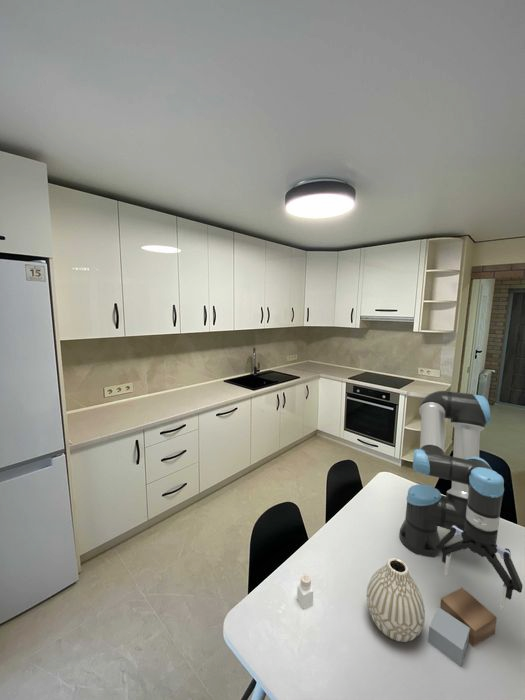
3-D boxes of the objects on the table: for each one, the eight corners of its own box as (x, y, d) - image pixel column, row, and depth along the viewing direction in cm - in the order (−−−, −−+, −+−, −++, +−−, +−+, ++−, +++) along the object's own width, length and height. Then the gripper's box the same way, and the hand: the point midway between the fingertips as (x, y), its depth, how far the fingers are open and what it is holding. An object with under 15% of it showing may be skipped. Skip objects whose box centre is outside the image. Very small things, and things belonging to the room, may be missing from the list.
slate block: (427, 644, 83) (429, 626, 82) (436, 624, 88) (438, 606, 87) (460, 669, 77) (462, 650, 76) (467, 646, 82) (470, 628, 81)
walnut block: (439, 615, 91) (441, 598, 90) (460, 603, 95) (462, 587, 94) (472, 649, 82) (474, 630, 81) (494, 634, 85) (496, 617, 85)
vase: (358, 597, 96) (362, 542, 93) (407, 599, 95) (412, 544, 93) (375, 653, 80) (380, 589, 77) (434, 656, 80) (440, 592, 77)
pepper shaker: (296, 600, 94) (297, 575, 93) (306, 596, 96) (307, 570, 95) (302, 612, 91) (303, 585, 89) (313, 607, 92) (314, 581, 91)
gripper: (429, 507, 89) (423, 568, 92) (540, 557, 71) (528, 631, 74) (436, 496, 94) (430, 554, 97) (542, 541, 76) (531, 610, 79)
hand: (473, 588), depth 86 cm, fingers open, 13 cm apart
